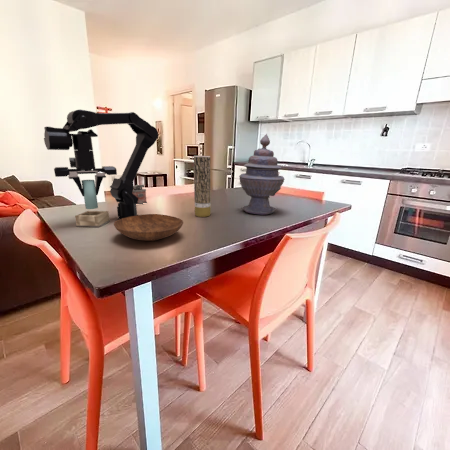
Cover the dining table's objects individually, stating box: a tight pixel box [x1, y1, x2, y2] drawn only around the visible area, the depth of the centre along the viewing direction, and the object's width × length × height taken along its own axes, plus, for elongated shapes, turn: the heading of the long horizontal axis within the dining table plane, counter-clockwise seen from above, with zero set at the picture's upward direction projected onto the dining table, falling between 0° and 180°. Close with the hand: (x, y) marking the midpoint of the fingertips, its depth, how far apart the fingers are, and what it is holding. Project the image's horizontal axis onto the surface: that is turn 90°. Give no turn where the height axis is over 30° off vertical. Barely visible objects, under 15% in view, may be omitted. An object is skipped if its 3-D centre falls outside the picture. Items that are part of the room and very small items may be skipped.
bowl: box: [113, 213, 184, 242], centre depth 77 cm, size 20×22×5 cm
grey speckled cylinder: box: [193, 155, 212, 218], centre depth 102 cm, size 7×7×25 cm
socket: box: [74, 210, 111, 228], centre depth 90 cm, size 8×8×4 cm
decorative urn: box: [238, 133, 285, 216], centre depth 110 cm, size 20×20×35 cm
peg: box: [80, 179, 99, 210], centre depth 88 cm, size 4×4×10 cm
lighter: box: [133, 184, 148, 205], centre depth 126 cm, size 8×3×10 cm, turn 143°
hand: (90, 195), depth 88 cm, fingers closed on peg, 4 cm apart
